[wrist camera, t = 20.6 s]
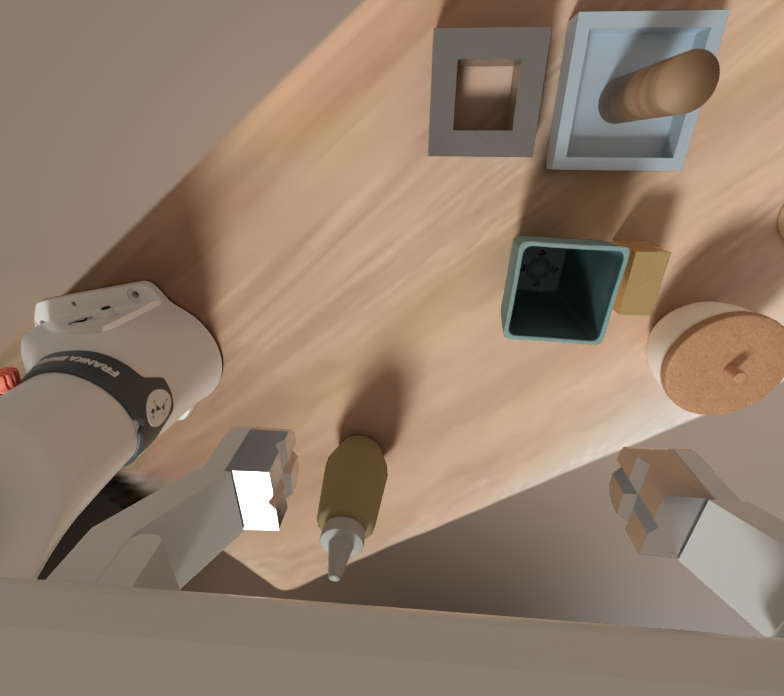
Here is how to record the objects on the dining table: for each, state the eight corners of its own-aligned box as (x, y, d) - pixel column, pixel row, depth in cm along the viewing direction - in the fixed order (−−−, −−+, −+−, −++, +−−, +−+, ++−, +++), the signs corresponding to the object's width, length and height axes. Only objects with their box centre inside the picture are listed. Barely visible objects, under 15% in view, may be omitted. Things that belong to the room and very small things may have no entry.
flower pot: (488, 305, 44) (502, 339, 36) (501, 222, 40) (520, 240, 32) (569, 310, 43) (602, 346, 35) (590, 227, 40) (632, 246, 32)
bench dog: (598, 297, 43) (618, 314, 38) (612, 240, 40) (636, 251, 35) (627, 297, 42) (651, 315, 38) (643, 240, 40) (671, 252, 35)
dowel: (591, 119, 35) (649, 108, 26) (608, 72, 33) (676, 43, 24) (630, 127, 35) (701, 119, 26) (649, 80, 33) (730, 54, 25)
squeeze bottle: (321, 457, 55) (280, 583, 39) (347, 417, 52) (314, 537, 36) (372, 481, 57) (352, 612, 41) (401, 444, 53) (391, 571, 37)
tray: (544, 168, 37) (552, 169, 35) (568, 21, 33) (579, 11, 30) (665, 169, 37) (681, 171, 35) (708, 19, 32) (730, 9, 30)
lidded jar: (693, 266, 41) (763, 297, 32) (755, 327, 43) (836, 370, 35) (607, 340, 45) (649, 384, 36) (668, 392, 47) (721, 444, 39)
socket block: (428, 155, 38) (428, 156, 35) (433, 37, 34) (433, 27, 31) (524, 156, 37) (532, 156, 34) (541, 36, 33) (551, 26, 30)
